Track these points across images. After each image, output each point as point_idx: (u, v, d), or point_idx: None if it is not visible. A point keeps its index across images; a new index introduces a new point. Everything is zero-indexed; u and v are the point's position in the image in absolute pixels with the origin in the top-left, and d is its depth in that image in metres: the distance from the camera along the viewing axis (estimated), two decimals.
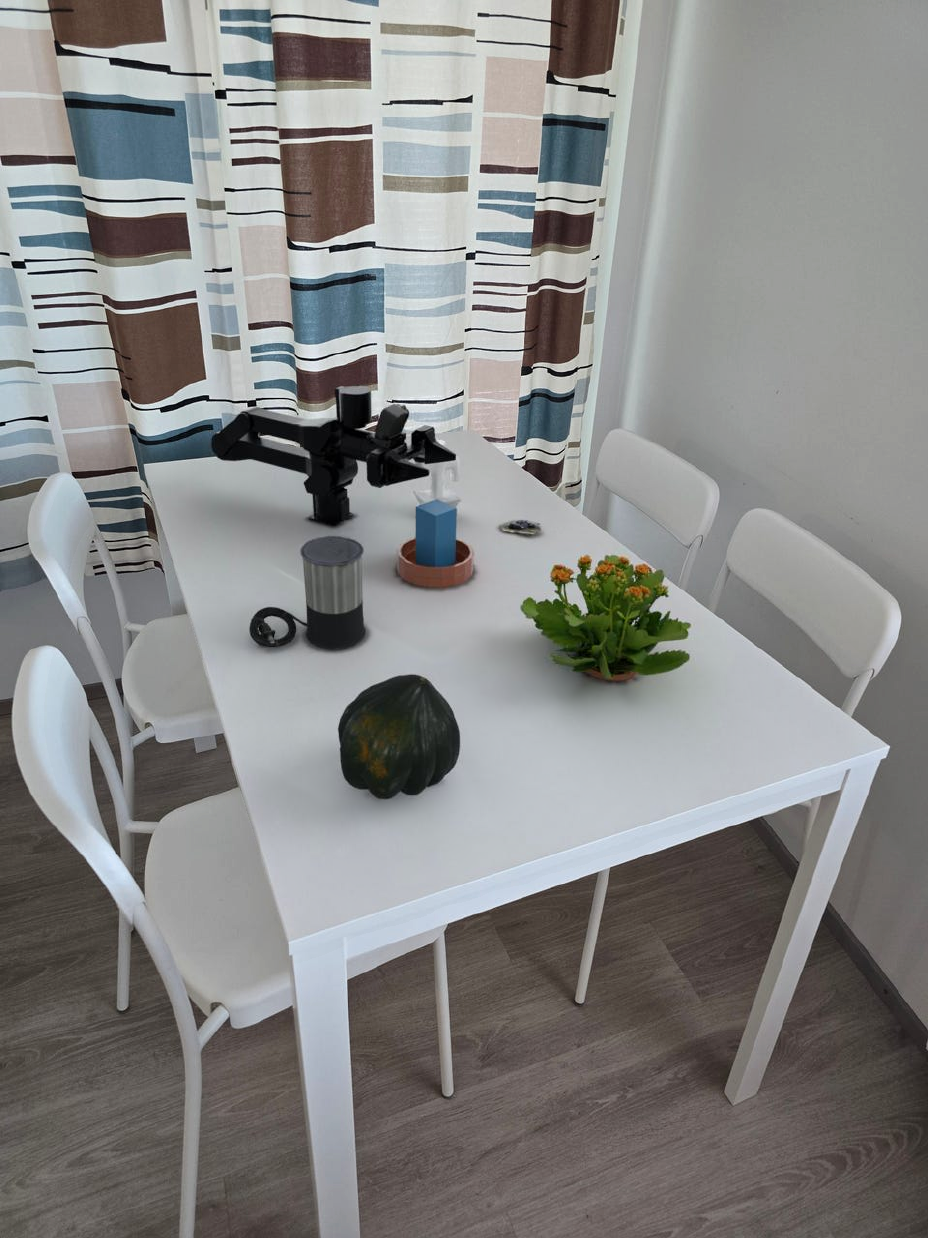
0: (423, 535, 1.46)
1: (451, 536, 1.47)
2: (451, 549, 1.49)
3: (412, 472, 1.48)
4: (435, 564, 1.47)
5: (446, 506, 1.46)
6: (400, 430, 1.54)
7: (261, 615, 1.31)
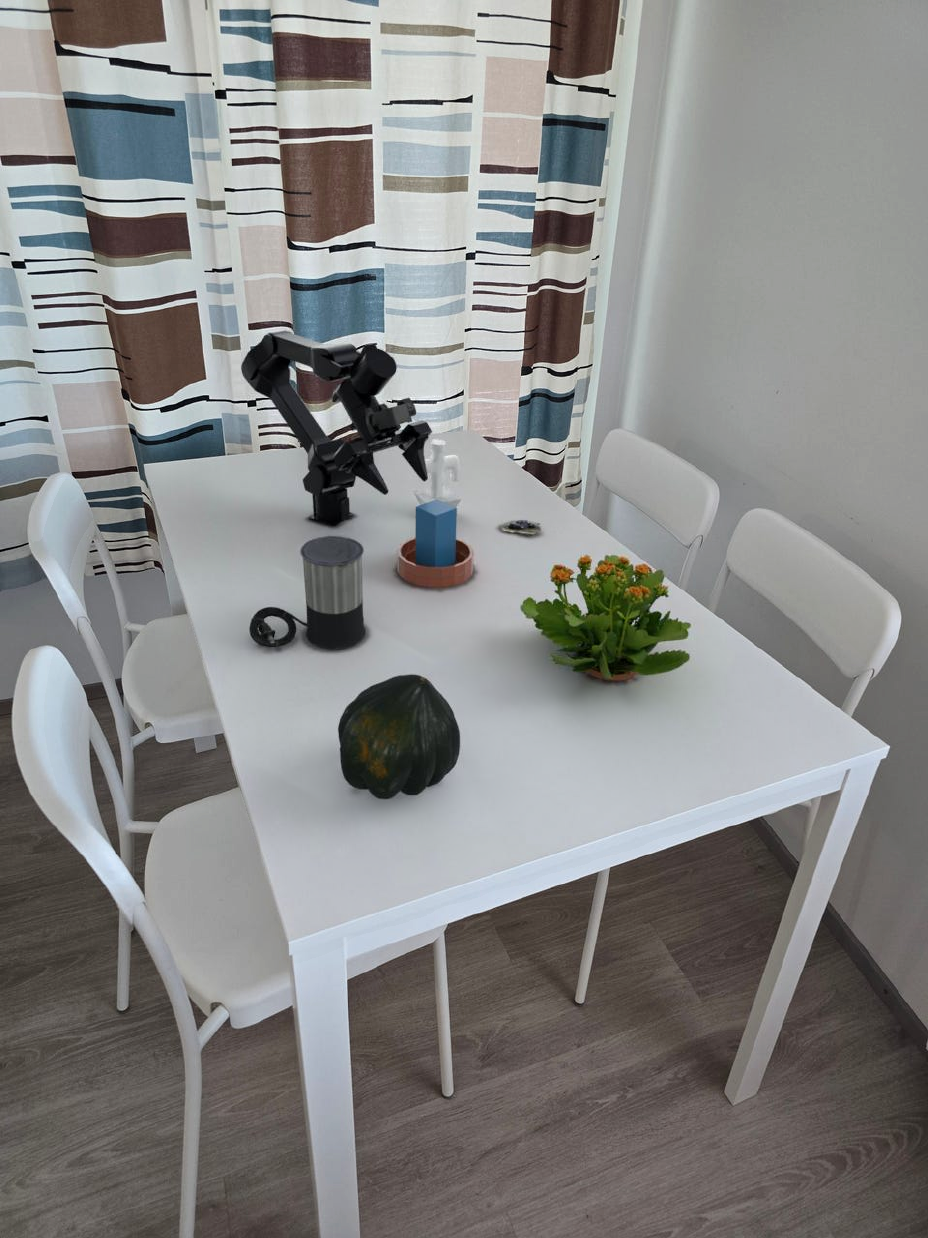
0: (423, 535, 1.46)
1: (451, 536, 1.47)
2: (451, 549, 1.49)
3: (374, 481, 1.46)
4: (435, 564, 1.47)
5: (446, 506, 1.46)
6: None
7: (261, 615, 1.31)
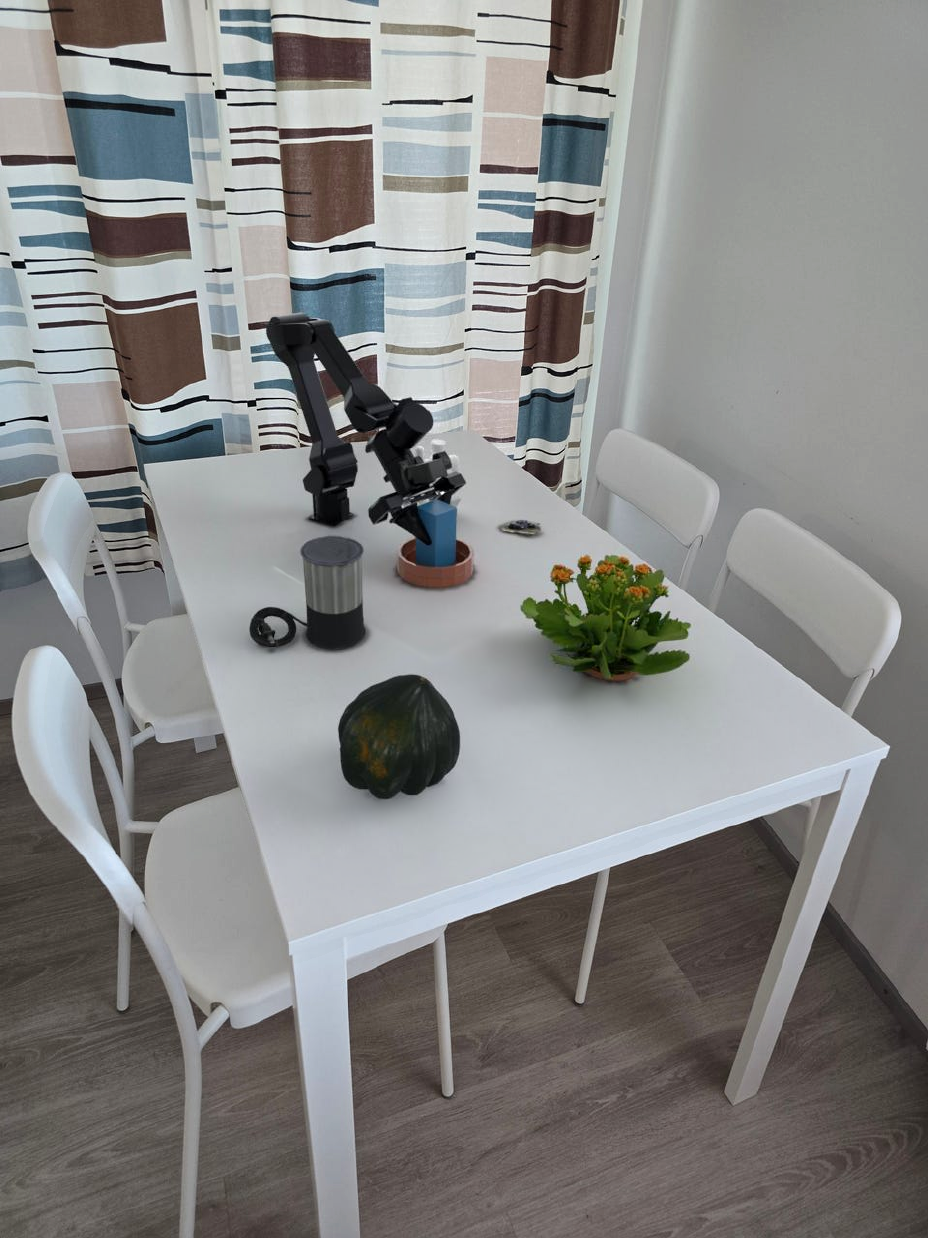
0: None
1: (451, 536, 1.47)
2: (451, 549, 1.49)
3: (417, 533, 1.45)
4: (435, 564, 1.47)
5: (446, 505, 1.46)
6: None
7: (261, 615, 1.31)
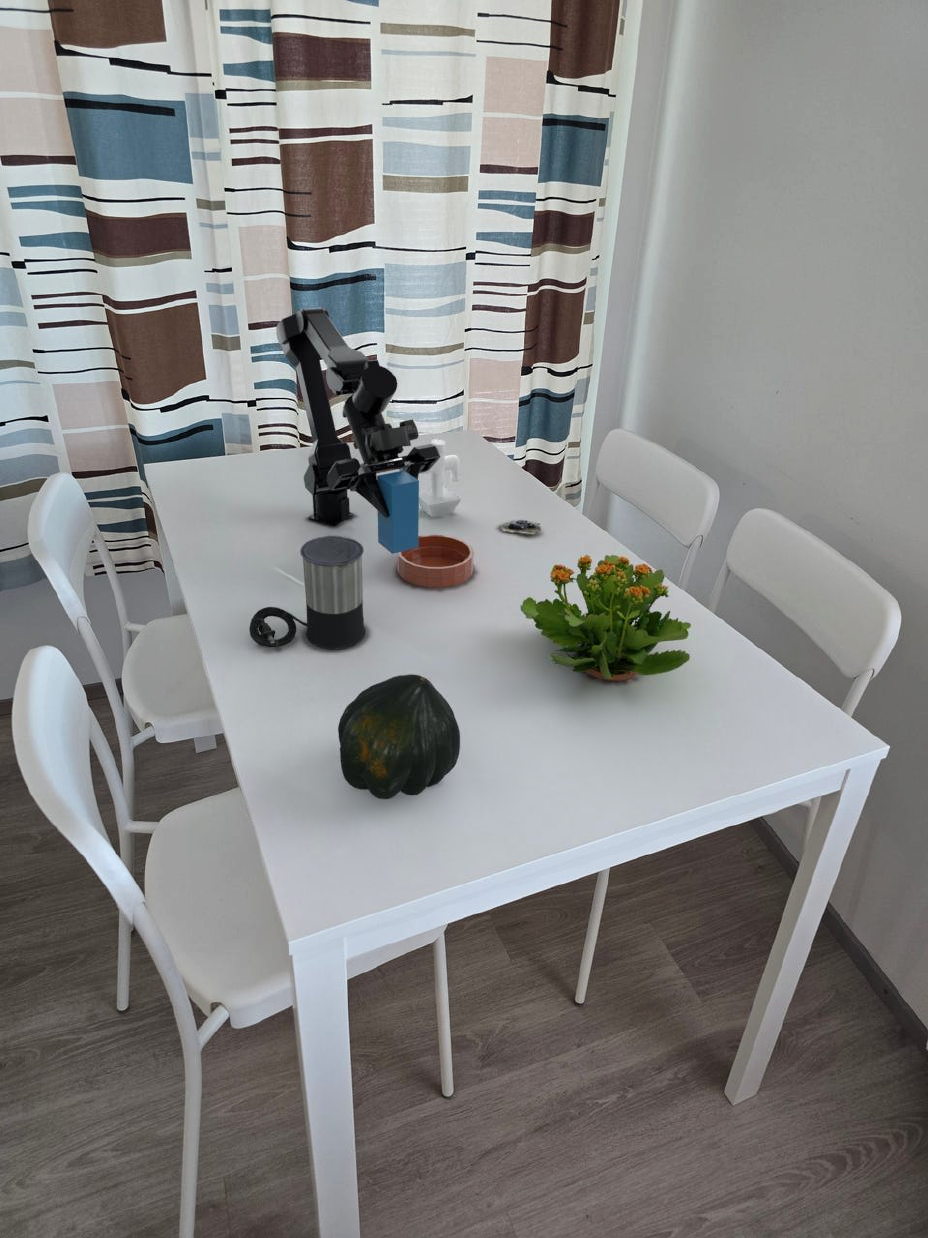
0: None
1: (412, 510, 1.39)
2: (413, 524, 1.41)
3: (376, 503, 1.39)
4: (392, 538, 1.40)
5: (409, 477, 1.38)
6: (397, 446, 1.38)
7: (261, 615, 1.31)
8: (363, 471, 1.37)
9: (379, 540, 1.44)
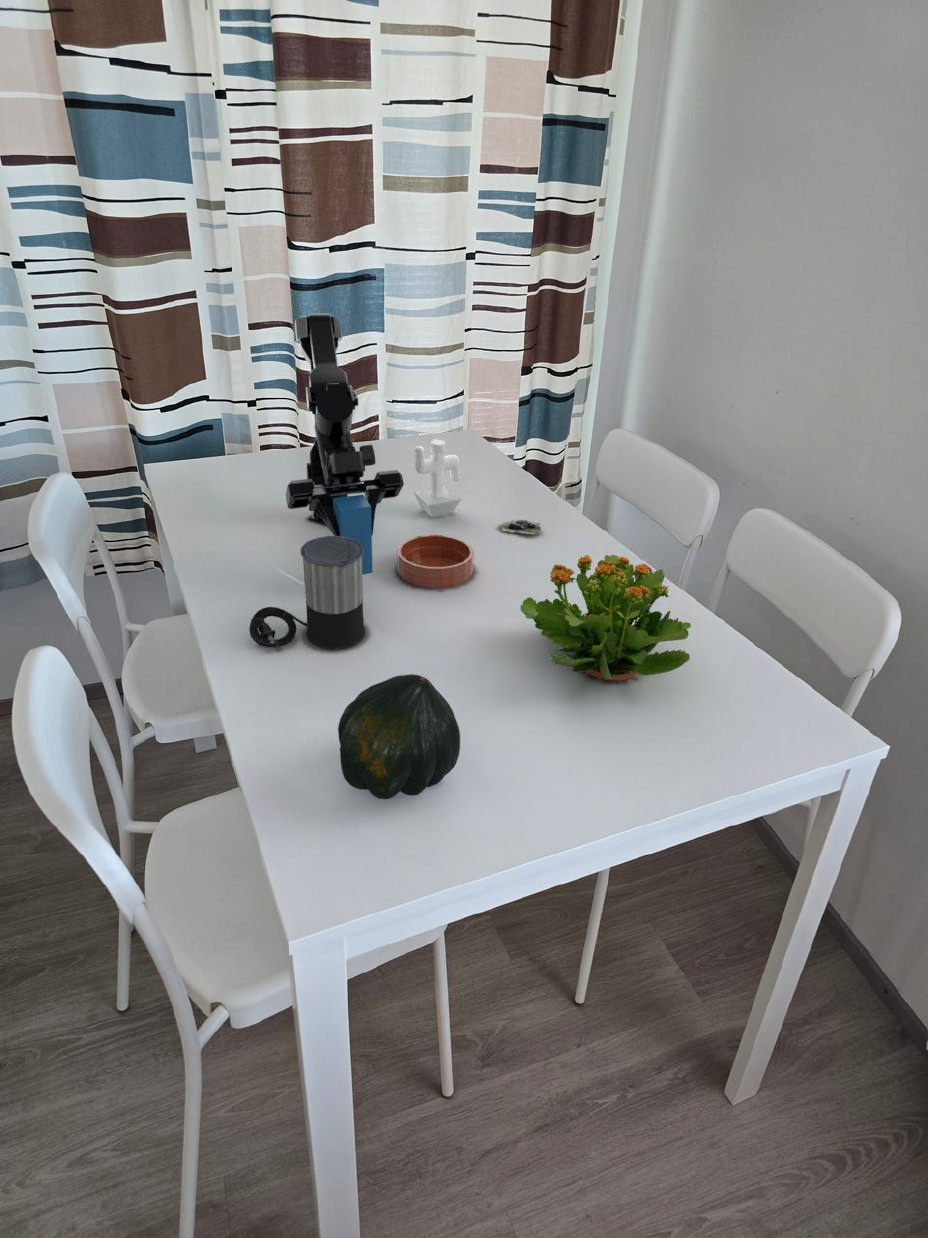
0: None
1: (364, 536, 1.38)
2: (365, 549, 1.39)
3: (329, 525, 1.38)
4: None
5: (363, 502, 1.37)
6: (356, 470, 1.38)
7: (261, 615, 1.31)
8: (318, 492, 1.37)
9: None
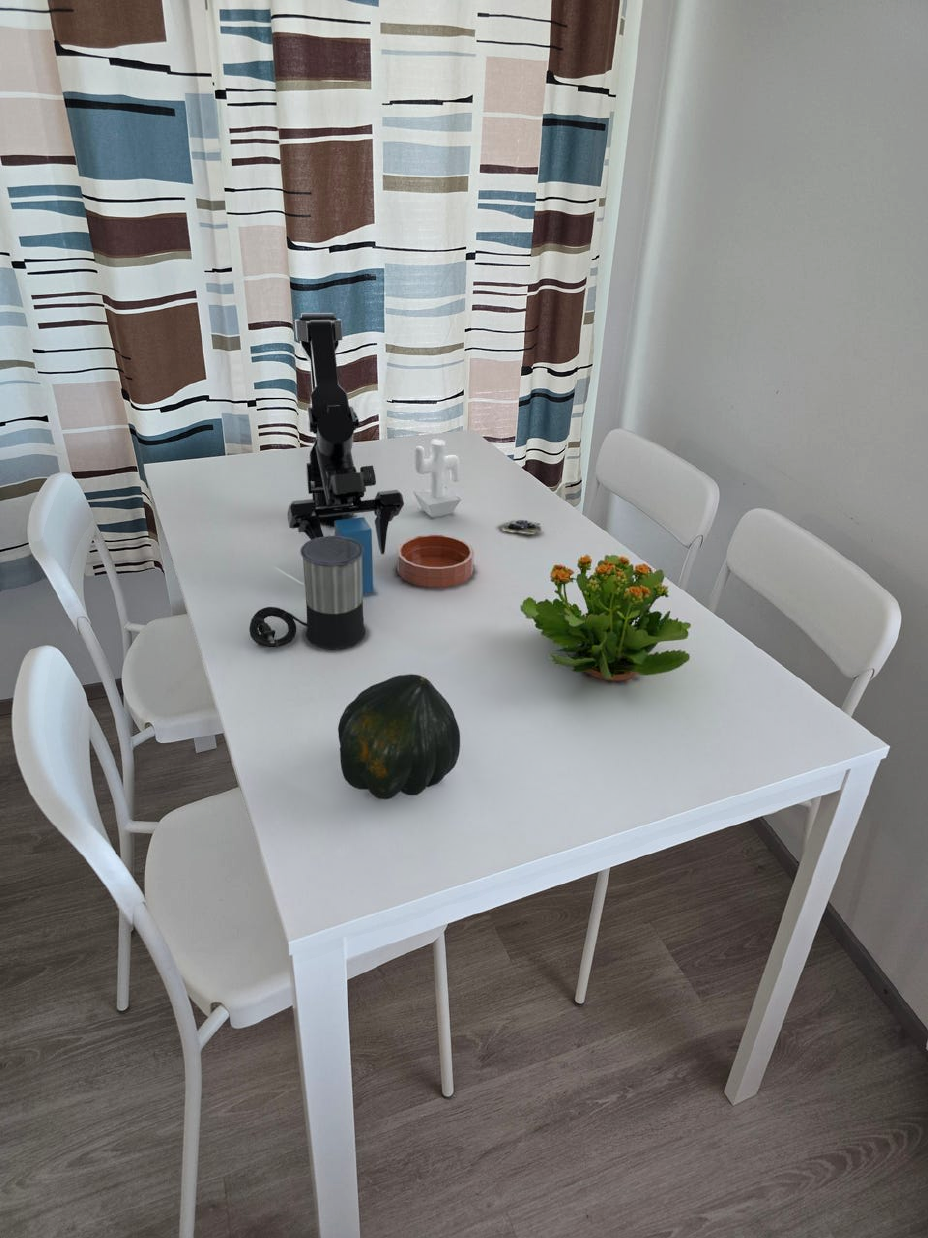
0: None
1: (365, 558, 1.40)
2: (366, 571, 1.41)
3: None
4: None
5: (363, 525, 1.39)
6: (357, 491, 1.39)
7: (261, 615, 1.31)
8: None
9: None
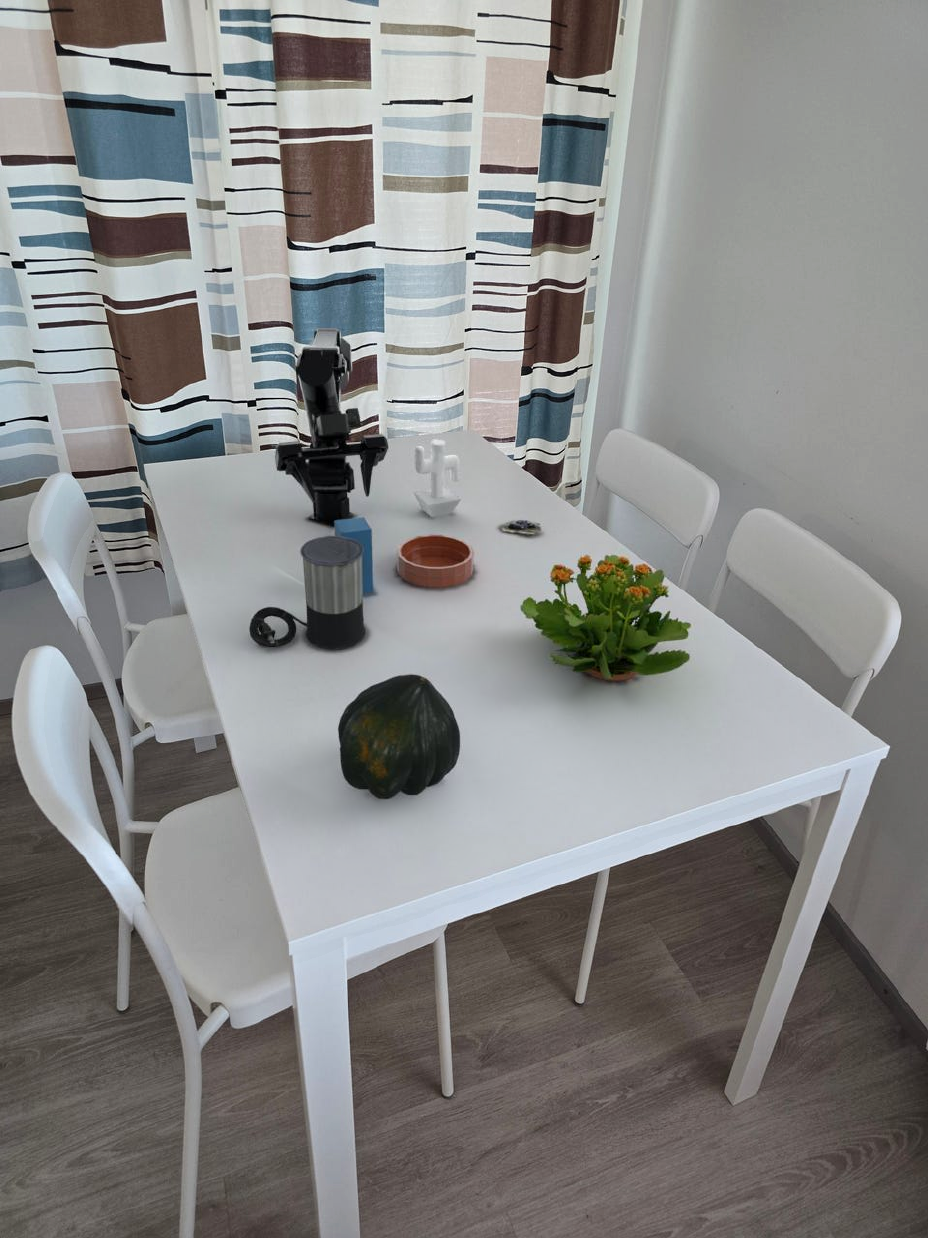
0: None
1: (365, 558, 1.40)
2: (366, 571, 1.41)
3: (305, 487, 1.43)
4: None
5: (364, 525, 1.39)
6: (342, 433, 1.43)
7: (261, 615, 1.31)
8: None
9: None
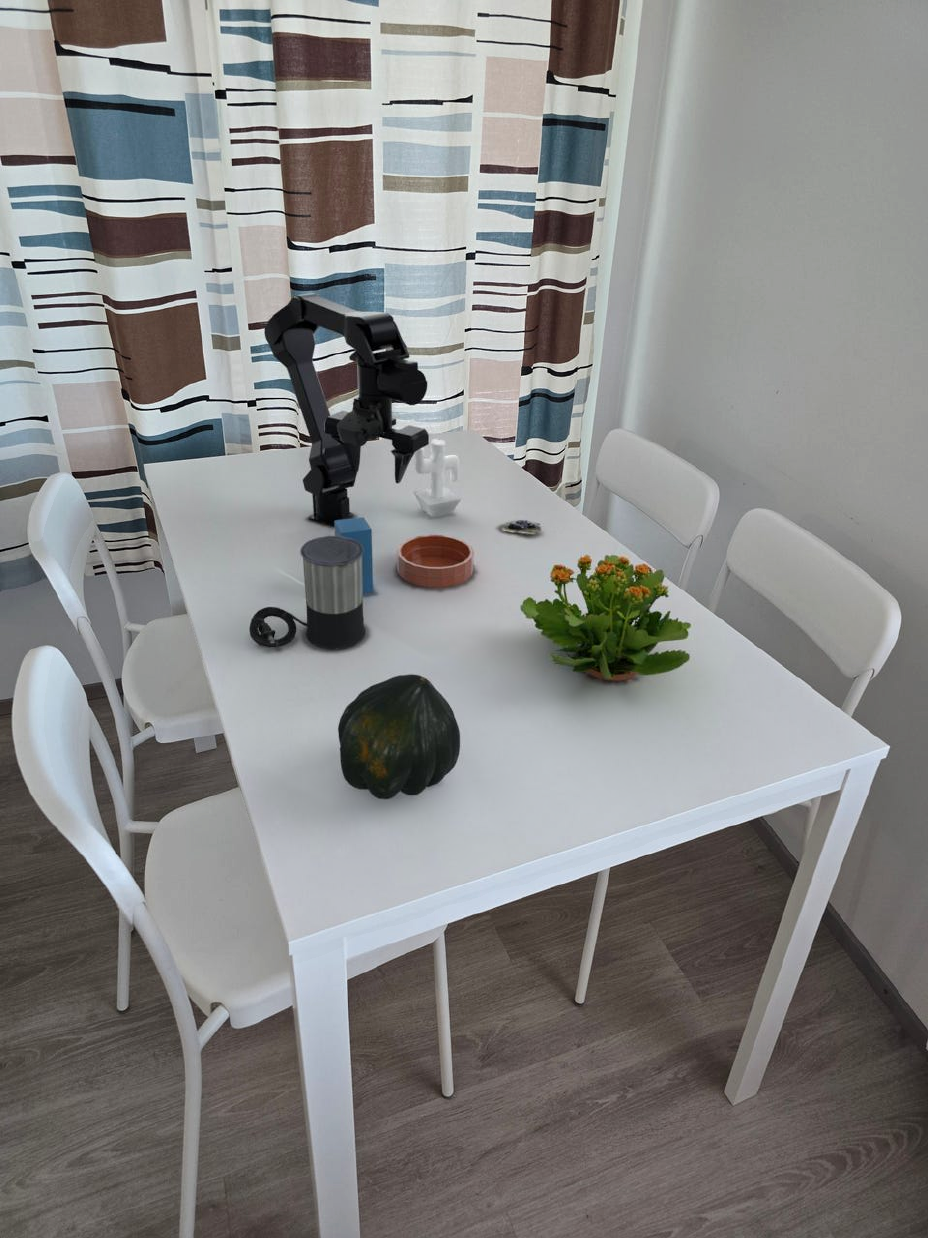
0: None
1: (365, 558, 1.40)
2: (366, 571, 1.41)
3: None
4: None
5: (363, 525, 1.39)
6: None
7: (261, 615, 1.31)
8: None
9: None
